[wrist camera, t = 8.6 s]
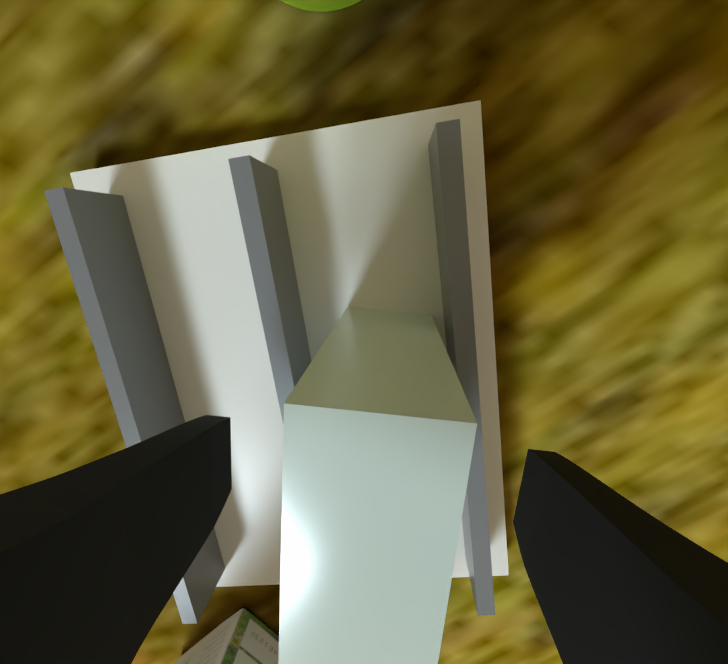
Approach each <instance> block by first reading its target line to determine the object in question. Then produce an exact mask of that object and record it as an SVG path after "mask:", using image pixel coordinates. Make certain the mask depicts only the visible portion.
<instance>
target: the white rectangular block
mask: <svg viewBox="0 0 728 664" xmlns="http://www.w3.org/2000/svg"><path fill="white" fill-rule="evenodd" d="M476 428H477V422H476V419H475V417H474V415H473V412H472V410H471V408H470V405H469V403H468V400H467V398H466V396H465V393H464V391H463V389H462V386H461V384H460V382H459V379H458V377H457V374H456V372H455V370H454V367H453V365H452V363H451V360H450V358H449V356H448V353H447V351H446V348H445V346H444V344H443V341H442V339H441V337H440V334H439V332H438V330H437V327H436V325H435V322H434V320H433V318H432V315H428V314H417V313H406V312H394V311H383V310H372V309H360V308H349V307H347V308H346V310H345V311H344V313H343V314H342V316H341V317H340V319H339V320H338V322H337V324H336V325H335V327H334V328H333V330H332V331H331V333H330V334H329V336H328V337H327V339H326V340H325V342H324V343H323V345H322V346H321V348H320V349H319V351H318V352H317V354H316V355H315V357H314V358H313V360H312V362H311V363H310V365H309V366H308V368H307V369H306V371H305V372H304V374H303V375H302V377H301V378H300V380H299V381H298V383H297V384H296V386H295V387H294V389H293V390H292V392H291V393H290V395H289V396H288V398H287V399H286V401H285V403H284V424H283V471H282V519H281V566H280V614H279V661H278V664H438V659H439V653H440V647H441V641H442V635H443V628H444V622H445V616H446V610H447V604H448V598H449V592H450V586H451V580H452V574H453V568H454V562H455V556H456V550H457V544H458V537H459V531H460V525H461V519H462V513H463V507H464V501H465V495H466V489H467V483H468V477H469V471H470V465H471V459H472V453H473V447H474V440H475V434H476Z"/></svg>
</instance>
